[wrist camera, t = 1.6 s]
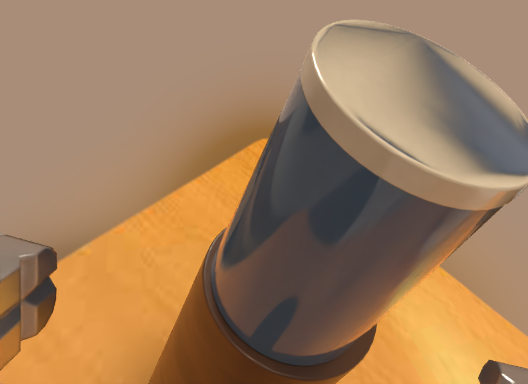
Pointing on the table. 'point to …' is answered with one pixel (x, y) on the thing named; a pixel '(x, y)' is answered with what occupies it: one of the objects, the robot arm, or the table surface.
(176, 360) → the stand
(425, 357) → the table surface
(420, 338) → the table surface
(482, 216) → the tumbler
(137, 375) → the table surface
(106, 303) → the table surface
